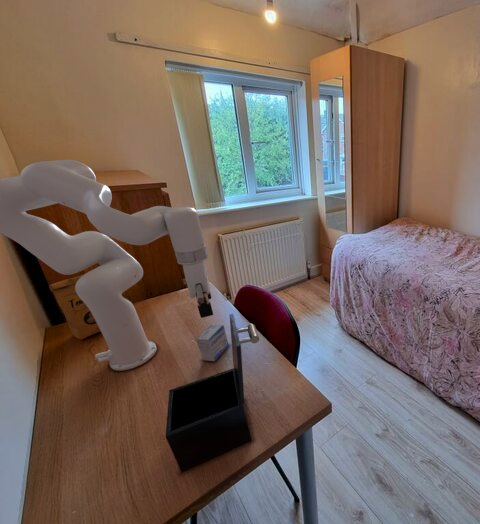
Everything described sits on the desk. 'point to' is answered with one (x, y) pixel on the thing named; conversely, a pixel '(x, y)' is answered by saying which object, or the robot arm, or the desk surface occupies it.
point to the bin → (206, 420)
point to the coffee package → (74, 308)
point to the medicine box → (212, 342)
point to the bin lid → (237, 351)
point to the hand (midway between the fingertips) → (206, 307)
